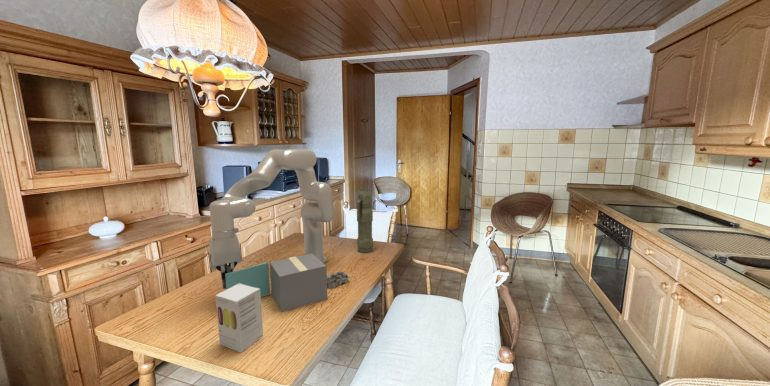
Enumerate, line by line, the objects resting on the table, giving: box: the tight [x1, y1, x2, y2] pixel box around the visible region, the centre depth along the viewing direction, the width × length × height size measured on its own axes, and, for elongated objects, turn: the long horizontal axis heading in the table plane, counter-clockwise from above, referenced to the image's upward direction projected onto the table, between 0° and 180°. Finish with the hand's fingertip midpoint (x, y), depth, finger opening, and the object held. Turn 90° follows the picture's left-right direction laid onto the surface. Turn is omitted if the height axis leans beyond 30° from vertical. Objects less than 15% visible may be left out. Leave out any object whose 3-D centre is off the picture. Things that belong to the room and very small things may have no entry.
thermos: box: [356, 188, 374, 254], centre depth 177 cm, size 9×12×35 cm
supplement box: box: [215, 283, 264, 353], centre depth 99 cm, size 10×9×17 cm
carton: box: [269, 253, 328, 313], centre depth 127 cm, size 16×18×14 cm
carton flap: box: [221, 261, 271, 298], centre depth 125 cm, size 16×8×16 cm, turn 134°
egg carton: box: [327, 269, 350, 289], centre depth 140 cm, size 11×8×4 cm
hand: (227, 280), depth 120 cm, fingers closed
